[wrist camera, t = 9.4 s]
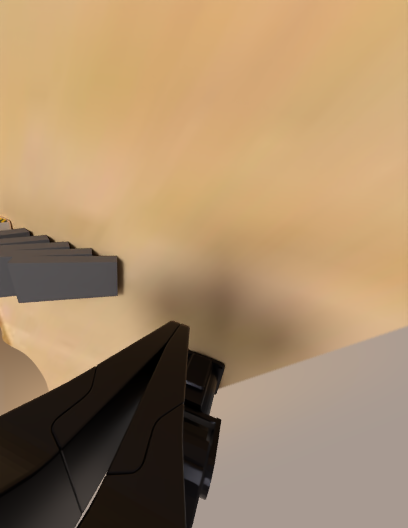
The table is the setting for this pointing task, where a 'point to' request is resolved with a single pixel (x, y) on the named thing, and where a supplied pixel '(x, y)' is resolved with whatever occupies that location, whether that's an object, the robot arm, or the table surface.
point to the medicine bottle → (5, 224)
